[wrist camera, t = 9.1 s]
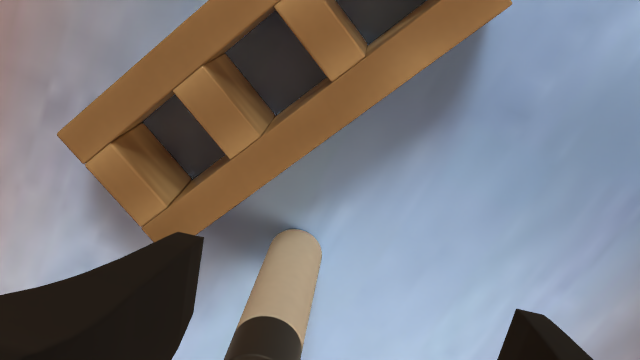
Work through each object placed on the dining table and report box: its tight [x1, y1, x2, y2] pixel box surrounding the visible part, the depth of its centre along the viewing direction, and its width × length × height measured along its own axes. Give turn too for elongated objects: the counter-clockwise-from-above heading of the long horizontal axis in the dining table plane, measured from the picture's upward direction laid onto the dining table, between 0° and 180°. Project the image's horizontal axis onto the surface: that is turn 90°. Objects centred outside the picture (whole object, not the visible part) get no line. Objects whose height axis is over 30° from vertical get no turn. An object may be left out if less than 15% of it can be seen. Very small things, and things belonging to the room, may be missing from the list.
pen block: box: [57, 0, 512, 242], centre depth 21 cm, size 6×15×3 cm, turn 128°
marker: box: [224, 229, 322, 360], centre depth 21 cm, size 2×2×8 cm
